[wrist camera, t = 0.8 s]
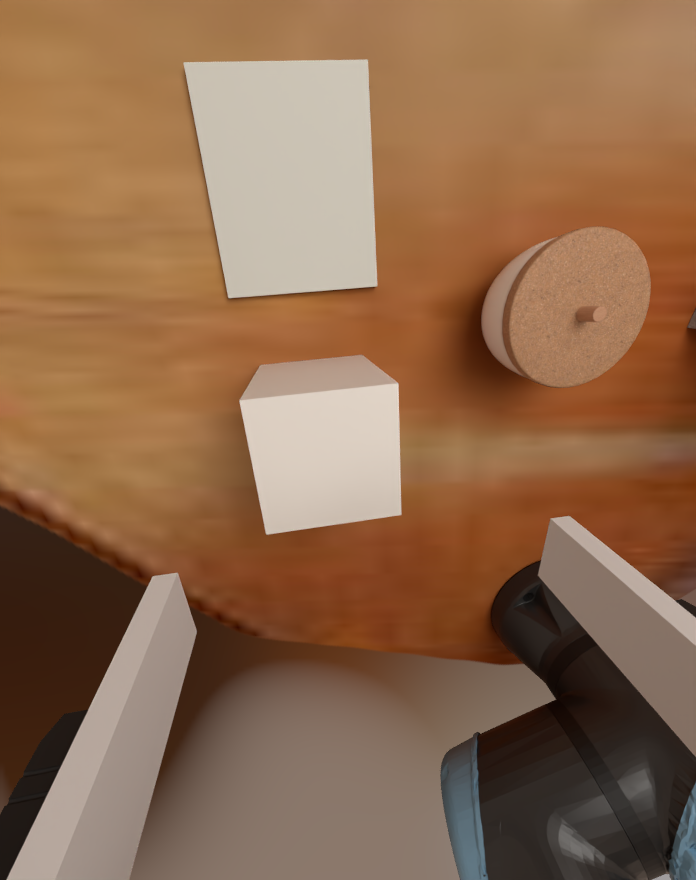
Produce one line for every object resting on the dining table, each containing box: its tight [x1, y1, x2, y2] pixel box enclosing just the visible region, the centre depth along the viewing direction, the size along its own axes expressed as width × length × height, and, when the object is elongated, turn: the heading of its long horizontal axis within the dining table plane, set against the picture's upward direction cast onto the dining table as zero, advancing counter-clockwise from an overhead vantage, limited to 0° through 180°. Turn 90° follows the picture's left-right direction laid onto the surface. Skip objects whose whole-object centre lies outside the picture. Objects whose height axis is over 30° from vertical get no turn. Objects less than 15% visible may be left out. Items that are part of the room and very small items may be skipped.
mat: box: [184, 60, 377, 298], centre depth 26 cm, size 14×12×1 cm
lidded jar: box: [481, 227, 651, 388], centre depth 27 cm, size 11×11×9 cm
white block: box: [239, 355, 401, 535], centre depth 27 cm, size 9×9×12 cm
